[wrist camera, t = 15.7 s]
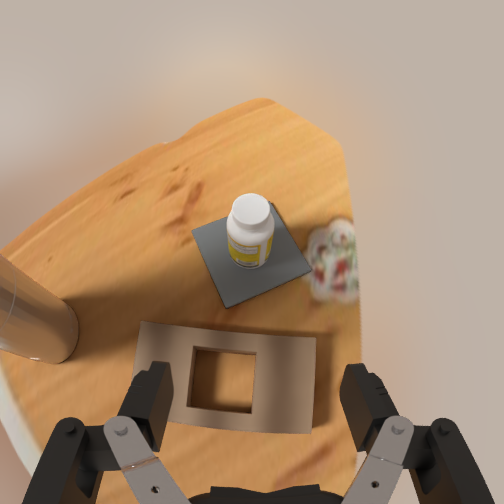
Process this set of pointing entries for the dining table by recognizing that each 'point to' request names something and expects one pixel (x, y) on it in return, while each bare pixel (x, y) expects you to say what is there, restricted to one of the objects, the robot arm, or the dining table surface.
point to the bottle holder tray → (265, 376)
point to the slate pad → (241, 279)
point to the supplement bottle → (250, 231)
